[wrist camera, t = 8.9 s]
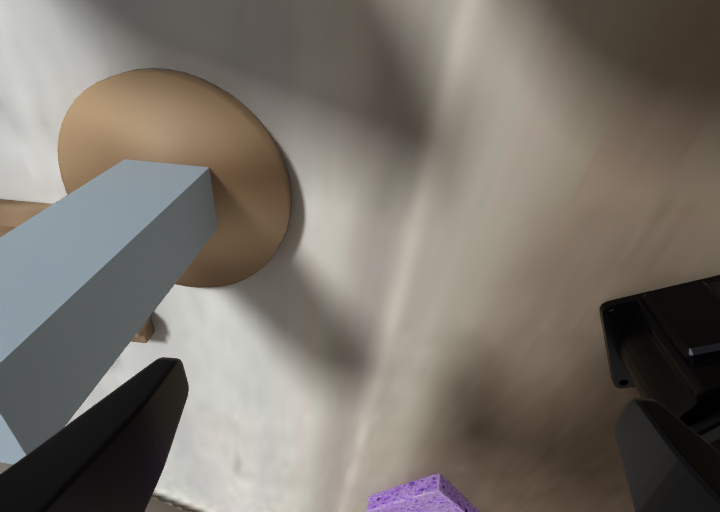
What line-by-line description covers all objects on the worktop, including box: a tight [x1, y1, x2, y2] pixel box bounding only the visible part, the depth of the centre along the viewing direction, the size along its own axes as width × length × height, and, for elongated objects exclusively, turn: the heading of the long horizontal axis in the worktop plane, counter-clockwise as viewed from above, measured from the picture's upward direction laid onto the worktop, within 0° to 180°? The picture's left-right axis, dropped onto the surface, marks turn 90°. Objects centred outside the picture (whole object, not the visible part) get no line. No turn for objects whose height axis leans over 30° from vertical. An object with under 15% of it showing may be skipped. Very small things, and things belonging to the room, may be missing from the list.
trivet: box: [58, 68, 292, 288], centre depth 21 cm, size 11×11×1 cm
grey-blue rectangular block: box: [0, 159, 218, 464], centre depth 15 cm, size 4×3×12 cm
